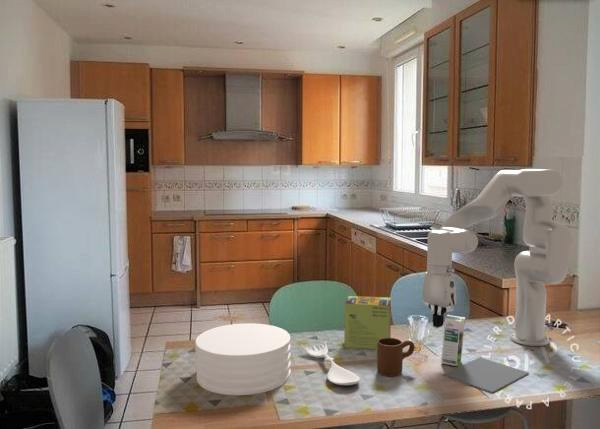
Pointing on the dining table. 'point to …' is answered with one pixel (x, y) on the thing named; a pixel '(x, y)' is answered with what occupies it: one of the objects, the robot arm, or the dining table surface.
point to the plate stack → (243, 358)
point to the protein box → (367, 321)
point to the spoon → (333, 367)
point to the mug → (392, 355)
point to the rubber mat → (486, 374)
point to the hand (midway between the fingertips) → (438, 325)
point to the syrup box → (453, 340)
